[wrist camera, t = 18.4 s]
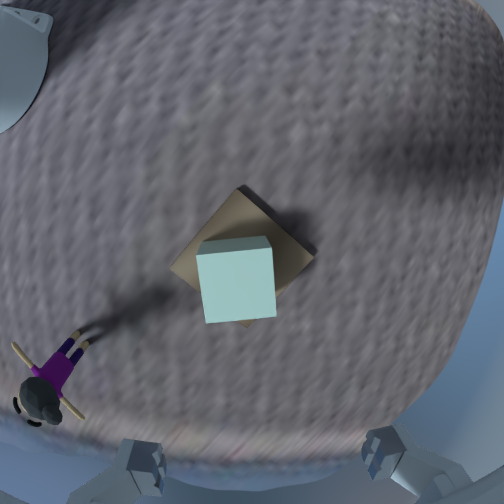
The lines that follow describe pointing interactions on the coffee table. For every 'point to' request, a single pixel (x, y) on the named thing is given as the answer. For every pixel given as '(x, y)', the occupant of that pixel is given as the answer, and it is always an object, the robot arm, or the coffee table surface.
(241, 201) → the stand
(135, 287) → the coffee table surface
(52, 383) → the toy
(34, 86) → the robot arm
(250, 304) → the pale aqua cube
